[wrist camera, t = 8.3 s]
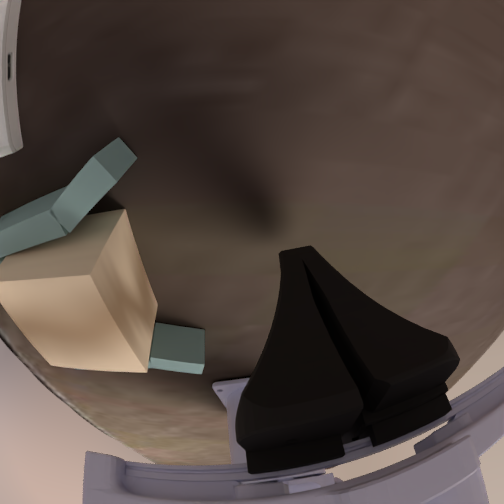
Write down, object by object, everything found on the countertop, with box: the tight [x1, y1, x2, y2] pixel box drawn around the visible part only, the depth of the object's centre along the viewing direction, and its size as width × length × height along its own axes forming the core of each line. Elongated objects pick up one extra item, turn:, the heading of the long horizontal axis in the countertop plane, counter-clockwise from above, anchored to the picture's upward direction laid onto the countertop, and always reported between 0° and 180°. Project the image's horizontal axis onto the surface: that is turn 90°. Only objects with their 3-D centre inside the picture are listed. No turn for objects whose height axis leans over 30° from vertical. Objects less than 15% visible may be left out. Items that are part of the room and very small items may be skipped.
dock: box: [0, 137, 205, 374], centre depth 12 cm, size 13×9×2 cm
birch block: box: [0, 209, 158, 373], centre depth 11 cm, size 6×6×4 cm
